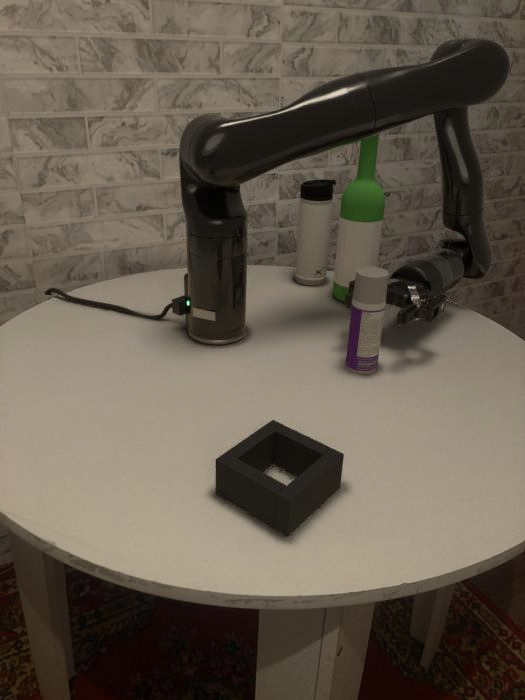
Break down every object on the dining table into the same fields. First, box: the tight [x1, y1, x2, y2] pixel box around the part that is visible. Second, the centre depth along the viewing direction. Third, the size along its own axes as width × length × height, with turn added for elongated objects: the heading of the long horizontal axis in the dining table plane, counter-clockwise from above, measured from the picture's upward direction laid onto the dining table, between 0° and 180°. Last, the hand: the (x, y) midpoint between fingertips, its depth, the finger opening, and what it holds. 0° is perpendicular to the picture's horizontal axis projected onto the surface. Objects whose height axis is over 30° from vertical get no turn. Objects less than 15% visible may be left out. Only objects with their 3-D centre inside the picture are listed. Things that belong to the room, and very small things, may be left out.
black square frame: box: [215, 419, 345, 537], centre depth 63 cm, size 10×10×4 cm
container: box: [344, 266, 390, 375], centre depth 85 cm, size 5×5×15 cm
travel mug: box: [294, 178, 337, 287], centre depth 115 cm, size 6×7×20 cm
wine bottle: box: [332, 134, 386, 303], centre depth 106 cm, size 8×8×30 cm
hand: (372, 311), depth 86 cm, fingers open, 8 cm apart
